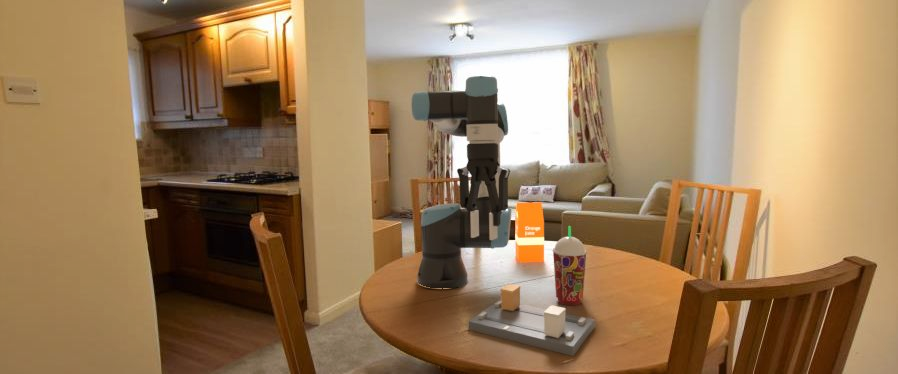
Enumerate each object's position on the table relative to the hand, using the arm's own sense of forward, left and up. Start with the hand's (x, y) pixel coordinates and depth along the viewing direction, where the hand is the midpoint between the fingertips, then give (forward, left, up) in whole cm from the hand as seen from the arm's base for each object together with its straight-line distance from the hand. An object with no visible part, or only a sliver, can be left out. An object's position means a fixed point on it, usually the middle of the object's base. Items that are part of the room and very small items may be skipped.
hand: (484, 237), depth 109 cm
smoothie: (+16, +16, -19) cm, 29 cm away
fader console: (+14, -4, -19) cm, 24 cm away
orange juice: (-9, +48, -19) cm, 52 cm away
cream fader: (+21, -8, -16) cm, 28 cm away
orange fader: (+7, 0, -16) cm, 18 cm away
